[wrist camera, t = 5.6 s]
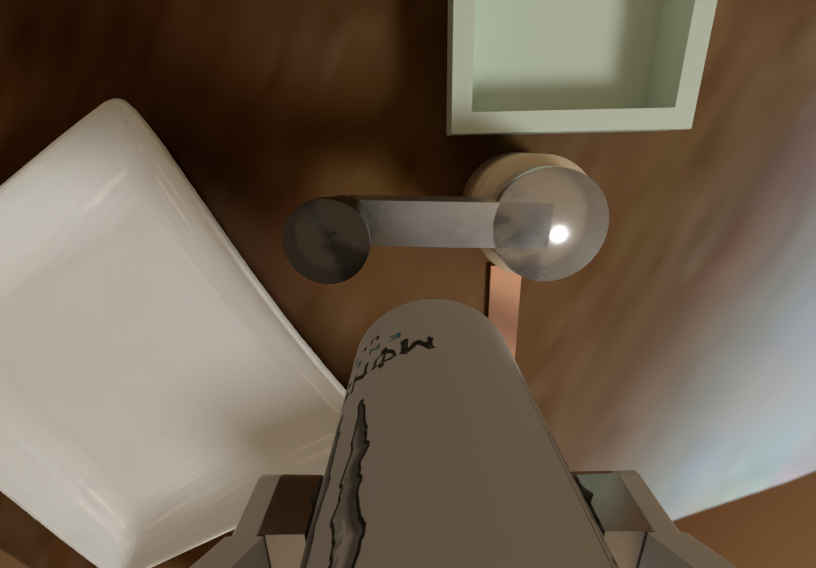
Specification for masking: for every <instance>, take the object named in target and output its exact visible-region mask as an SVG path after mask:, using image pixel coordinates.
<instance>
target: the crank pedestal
mask: <svg viewBox="0 0 816 568" xmlns="http://www.w3.org/2000/svg"><path fill="white" fill-rule="evenodd" d="M536 165H549V166H557V167H564V168H570V169H574V170H577V171H579V172H581V173H583V174H585V173H584V171H583V170H582V169H581V168H580V167H578V166H577V165H576V164H574V163H573V162H571V161H569V160H567V159H566V158H563V157H560V156H557V155H552V154H538V153H518V152H511V153H504V154H499V155H497V156H494V157H492V158H490V159H488V160H487V161H485V162H484V163H482V164H481V165H480V166H479V167H478V168H477V169H476V170H475V171H474V172H473V173H472V175H471V176H470V178H469V179H468V181H467V183H466V185H465V188H464V191H463V195H462V197H492V195H493V194H494V192H495V190H496V189H497V188H498V186H499V185H500V184H501V183H502V182H503V181H504V180H505V179H507V178H508V177H509V176H511V175H512V174H514V173H515V172H517V171H519V170H521V169H524V168H527V167H531V166H536ZM585 175H586V174H585ZM481 249H482V251H483V252H484V254H485V255H486V256H487V258H488V259H489V260H490V261H491V262H492V263H494V264H495V265H490V282H489V302H488V319H489V320H490V321H492V322H493V323H494V325H495V326H496V327H497V329H498V330H499V331H500V332H501V334H502V336H503V338H504V340H505V342H506V344H507V346H508V348H509V350H510V352H511V354H512V356H513V358H514V360H515V349H516V337H517V324H518V312H519V299H520V286H521V276H520V275H518V274H516V273H515V272H513V271H512V270H511V269H510V268H509V267H507V266H506V265H505V263H504V262H503V261H502V260H501V258H500V257H499V256H498V254H497V253H496V252H495V250H494V249H493V248H481Z"/></svg>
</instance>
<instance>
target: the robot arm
mask: <svg viewBox="0 0 816 568" xmlns="http://www.w3.org/2000/svg"><path fill="white" fill-rule="evenodd" d="M571 473H572V475H573V477H574V479H575V481H576V483H577V485H578V487H579V489H580V491H581V493H582V495H583V497H584V499H585V501H586V503H587V505H588V507H589V509H590V511H591V513H592V515H593V517H594V519H595V521H596V523H597V525H598V527H599V529H600V531H601V533H602V535H603V537H604V539H605V541H606V543H607V545H608V547H609V549H610V551H611V553H612V555H613V557H614V559H615V561H616V563H617V565H618V567H619V568H737V567H736V566H735V565H733V564H732V563H730V562H728V561H727V560H725V559H724V558H723V557H721V556H720V555H718V554H717V553H716V552H714V551H713V550H711V549H710V548H708V547H707V546H706V545H704V544H702V543H701V542H700V541H698V540H697V539H695V538H694V537H692V536H691V535H689V534H688V533H687V532H679V531H678V529H677V528H676V526H675V525H674V523H673V522H672V521H671V519H670V518H669V516H668V515H667V513H666V512H665V511H664V509H663V508H662V506H661V505H660V503H659V502H658V501H657V499H656V498H655V496H654V495H653V493H652V492H651V491H650V489H649V488H648V486H647V485H646V483H645V482H644V481H643V479H642V478H641V476H640V475H639V474H638V473H637V472H636V471H634V470H627V471H578V472H571ZM323 477H324V476H323V475H292V474H283V475H267V474H262V476H261V477H260V478H259V479H258V480H257V482H256V484H255V487H254V489H253V491H252V493H251V495H250V498H249V500H248V502H247V504H246V506H245V509H244V511H243V513H242V515H241V518H240V520H239V522H238V524H237V526H236V529H235V531H234V533H233V535H232V536H229V537H225V538H223V539H222V540H221V541H220V542H219V543H218V544H216V545H215V546H214V547H213V548H212V549H211V550H210V551H208V552H207V553H206V554H205V555H204V556H203V557H201V558H200V559H199V560H198V561H197V562H196V563H195V564H193V565H192V566H191V567H190V568H300V564H301V560H302V556H303V553H304V549H305V545H306V541H307V538H308V534H309V530H310V526H311V523H312V519H313V515H314V511H315V508H316V504H317V500H318V496H319V492H320V489H321V485H322V481H323Z"/></svg>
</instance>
